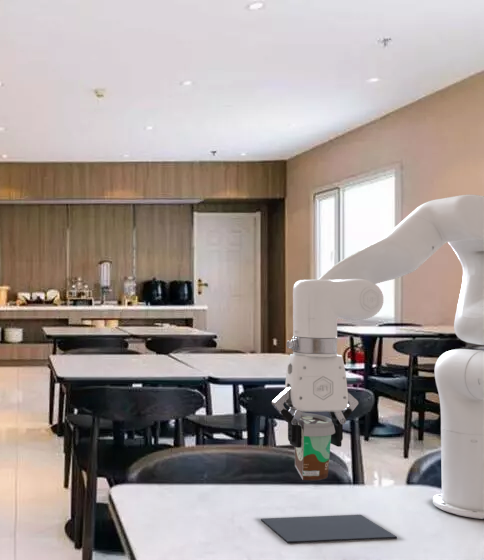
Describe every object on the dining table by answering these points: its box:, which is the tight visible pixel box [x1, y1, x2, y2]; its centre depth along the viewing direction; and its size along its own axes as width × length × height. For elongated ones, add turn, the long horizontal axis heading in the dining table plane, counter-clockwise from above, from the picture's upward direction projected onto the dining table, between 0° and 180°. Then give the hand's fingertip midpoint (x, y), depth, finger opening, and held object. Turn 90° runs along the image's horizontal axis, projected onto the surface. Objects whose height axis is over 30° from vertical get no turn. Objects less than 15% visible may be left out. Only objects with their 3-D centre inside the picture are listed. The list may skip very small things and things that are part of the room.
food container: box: [294, 412, 335, 481], centre depth 113 cm, size 12×6×10 cm, turn 168°
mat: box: [260, 514, 398, 544], centre depth 112 cm, size 20×11×1 cm, turn 97°
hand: (315, 444), depth 113 cm, fingers closed on food container, 7 cm apart
